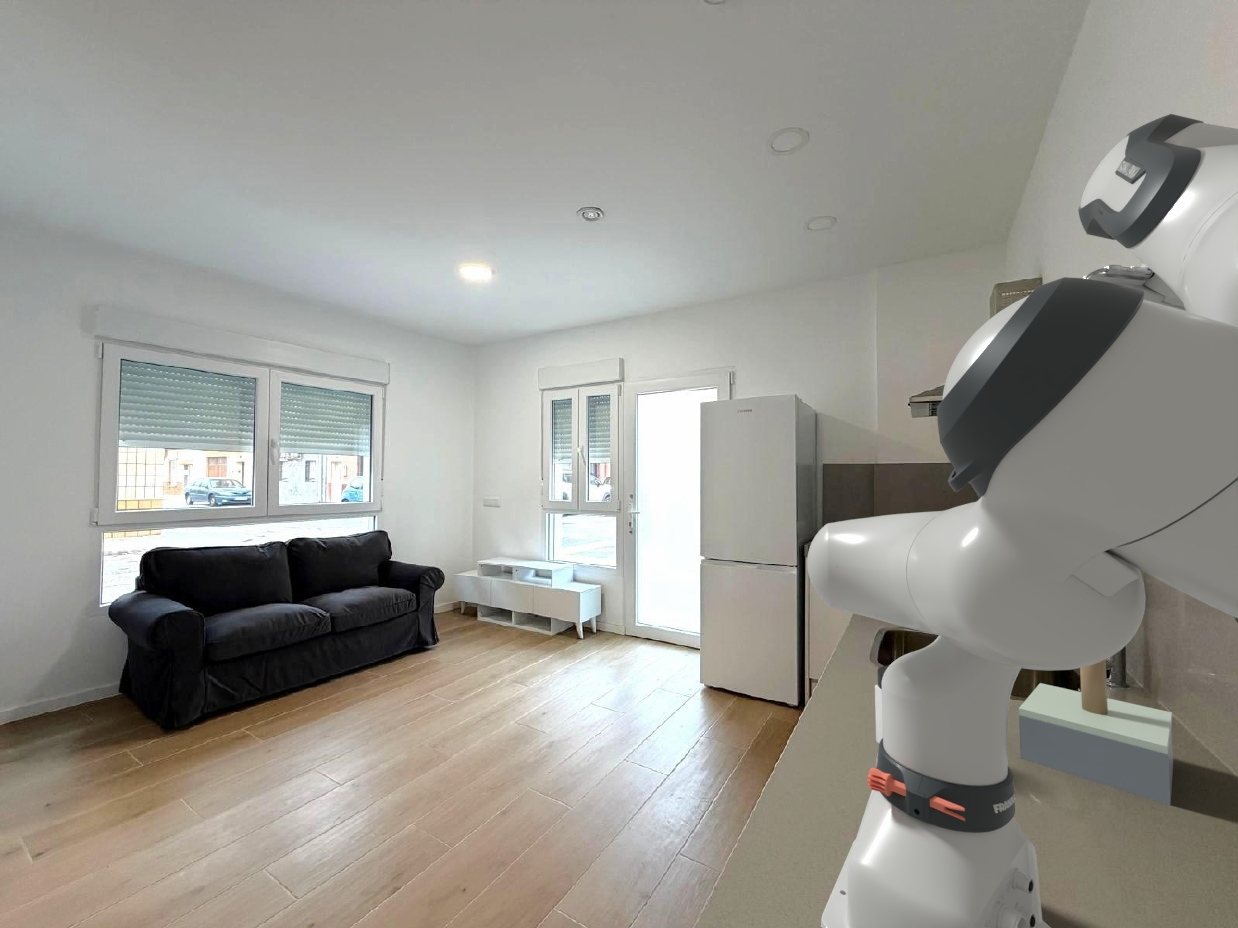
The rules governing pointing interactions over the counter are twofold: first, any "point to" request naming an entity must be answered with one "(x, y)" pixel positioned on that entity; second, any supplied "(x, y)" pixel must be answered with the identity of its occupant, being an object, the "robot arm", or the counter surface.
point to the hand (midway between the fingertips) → (1101, 380)
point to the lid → (1099, 712)
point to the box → (1098, 758)
